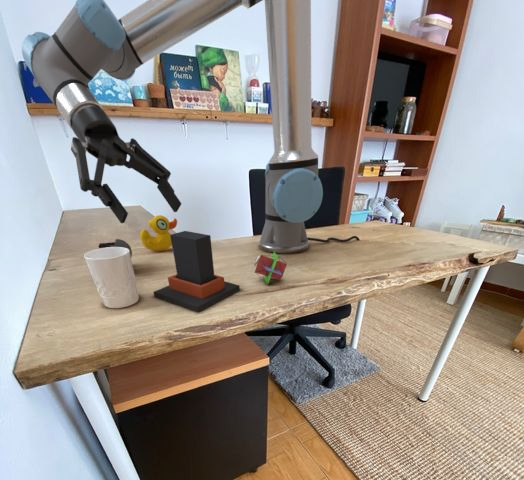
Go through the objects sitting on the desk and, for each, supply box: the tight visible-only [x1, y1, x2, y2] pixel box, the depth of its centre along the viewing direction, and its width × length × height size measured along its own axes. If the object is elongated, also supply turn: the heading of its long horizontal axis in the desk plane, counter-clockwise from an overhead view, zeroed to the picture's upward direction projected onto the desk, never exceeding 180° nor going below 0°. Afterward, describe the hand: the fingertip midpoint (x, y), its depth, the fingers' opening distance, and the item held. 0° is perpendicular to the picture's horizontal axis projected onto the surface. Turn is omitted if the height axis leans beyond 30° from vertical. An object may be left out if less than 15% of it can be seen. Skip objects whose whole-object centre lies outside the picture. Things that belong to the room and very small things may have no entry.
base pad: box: [153, 273, 241, 313], centre depth 63 cm, size 13×13×4 cm
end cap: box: [97, 238, 133, 258], centre depth 74 cm, size 10×7×7 cm
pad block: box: [170, 230, 215, 285], centre depth 60 cm, size 4×7×11 cm, turn 55°
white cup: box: [83, 247, 140, 309], centre depth 58 cm, size 8×8×10 cm
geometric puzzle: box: [253, 252, 288, 285], centre depth 68 cm, size 7×7×8 cm
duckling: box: [139, 214, 178, 252], centre depth 89 cm, size 11×5×10 cm, turn 110°
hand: (153, 213), depth 61 cm, fingers open, 13 cm apart
